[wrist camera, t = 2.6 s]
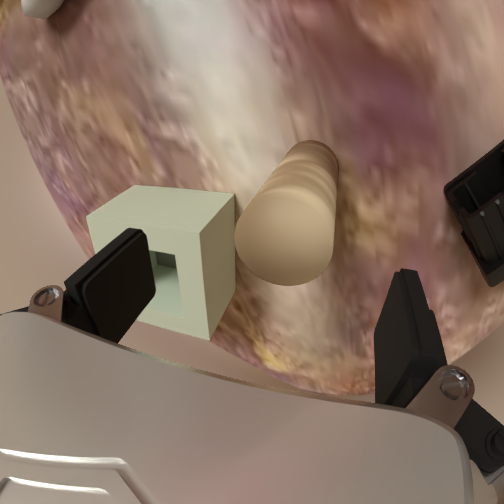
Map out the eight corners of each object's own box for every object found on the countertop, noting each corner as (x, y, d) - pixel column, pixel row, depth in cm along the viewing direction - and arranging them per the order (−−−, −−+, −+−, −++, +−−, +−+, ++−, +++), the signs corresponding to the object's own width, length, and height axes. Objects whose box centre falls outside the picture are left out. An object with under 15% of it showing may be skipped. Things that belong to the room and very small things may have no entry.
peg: (340, 144, 20) (340, 205, 11) (334, 194, 23) (324, 292, 13) (286, 137, 21) (233, 191, 12) (283, 187, 23) (234, 277, 14)
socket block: (234, 193, 25) (199, 232, 19) (235, 289, 30) (209, 340, 24) (134, 185, 27) (86, 216, 21) (149, 271, 32) (113, 312, 27)
